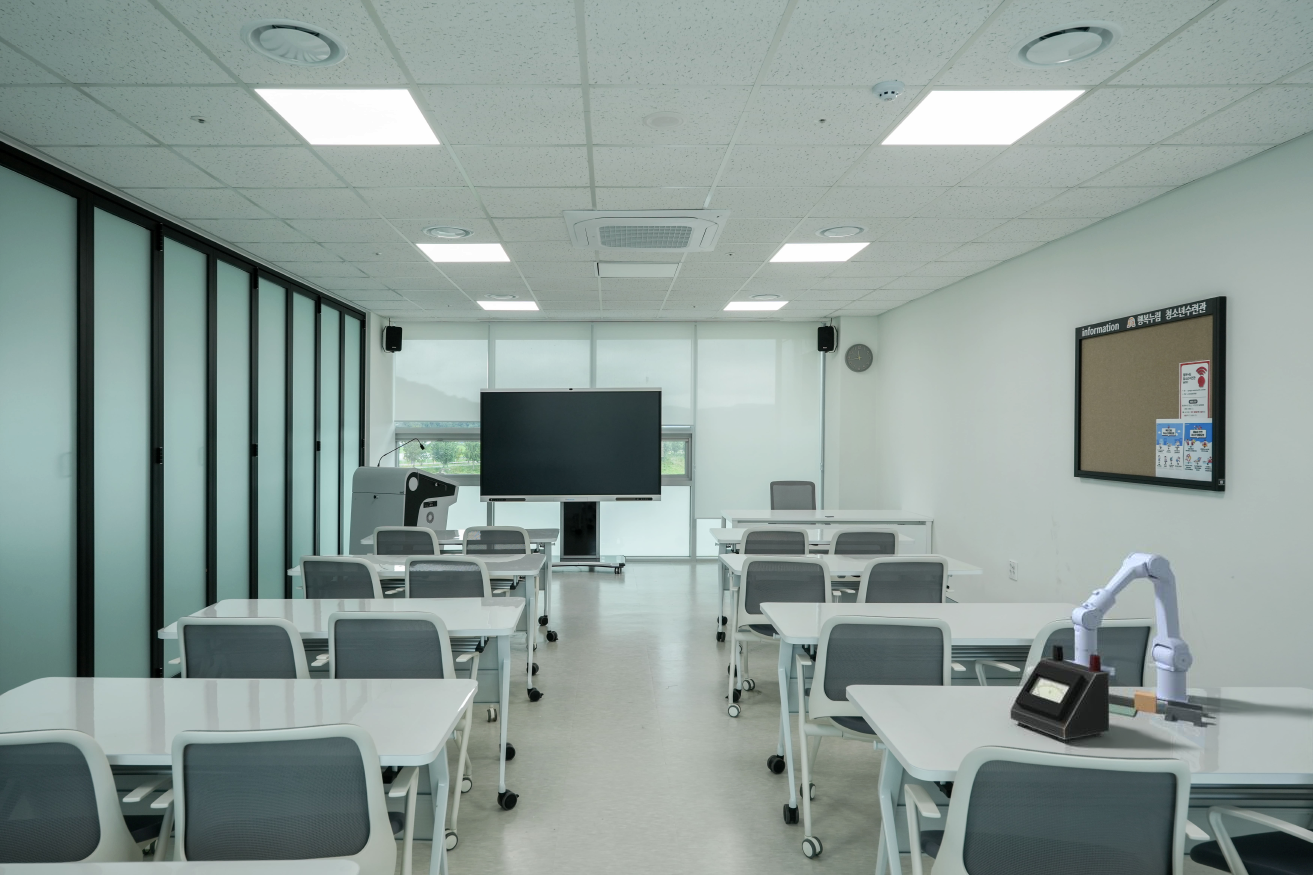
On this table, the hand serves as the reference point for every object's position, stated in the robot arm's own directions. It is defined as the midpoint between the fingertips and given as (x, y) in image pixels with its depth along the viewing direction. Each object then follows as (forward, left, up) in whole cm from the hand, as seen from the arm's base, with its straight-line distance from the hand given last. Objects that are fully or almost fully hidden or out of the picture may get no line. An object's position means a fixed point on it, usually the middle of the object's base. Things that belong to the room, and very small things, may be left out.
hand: (1086, 695), depth 224 cm
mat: (+6, +9, -1) cm, 11 cm away
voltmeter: (+36, -1, -1) cm, 36 cm away
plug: (0, +11, -1) cm, 11 cm away
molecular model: (+18, -8, -1) cm, 20 cm away
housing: (0, +24, -1) cm, 24 cm away
